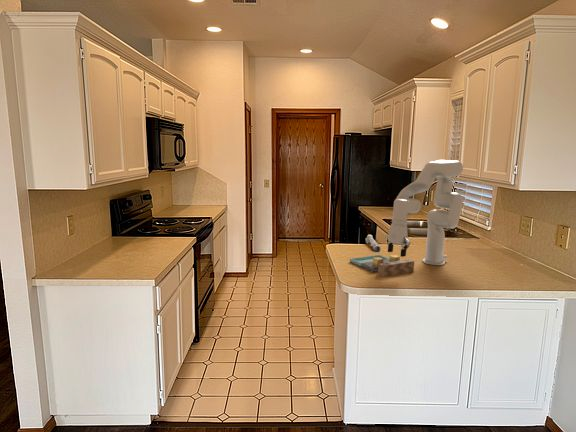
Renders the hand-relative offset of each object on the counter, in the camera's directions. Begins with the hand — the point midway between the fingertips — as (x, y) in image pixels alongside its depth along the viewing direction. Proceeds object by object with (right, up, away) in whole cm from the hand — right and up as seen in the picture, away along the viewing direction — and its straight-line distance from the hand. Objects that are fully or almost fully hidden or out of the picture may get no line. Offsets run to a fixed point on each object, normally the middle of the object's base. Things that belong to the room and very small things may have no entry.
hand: (396, 254), depth 218 cm
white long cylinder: (-1, -1, +59) cm, 59 cm away
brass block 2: (+2, -6, +12) cm, 13 cm away
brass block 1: (-9, -7, +6) cm, 13 cm away
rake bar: (0, -11, +2) cm, 11 cm away
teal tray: (-10, -7, +20) cm, 24 cm away
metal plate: (-5, -9, +11) cm, 15 cm away
